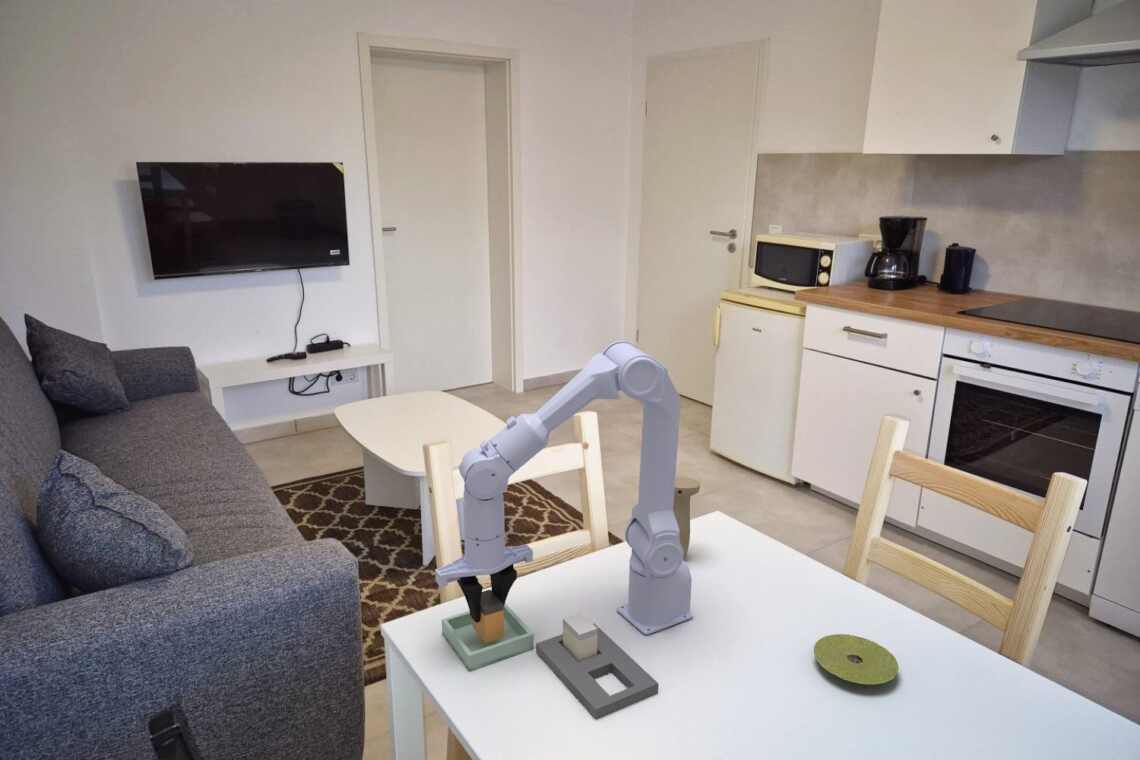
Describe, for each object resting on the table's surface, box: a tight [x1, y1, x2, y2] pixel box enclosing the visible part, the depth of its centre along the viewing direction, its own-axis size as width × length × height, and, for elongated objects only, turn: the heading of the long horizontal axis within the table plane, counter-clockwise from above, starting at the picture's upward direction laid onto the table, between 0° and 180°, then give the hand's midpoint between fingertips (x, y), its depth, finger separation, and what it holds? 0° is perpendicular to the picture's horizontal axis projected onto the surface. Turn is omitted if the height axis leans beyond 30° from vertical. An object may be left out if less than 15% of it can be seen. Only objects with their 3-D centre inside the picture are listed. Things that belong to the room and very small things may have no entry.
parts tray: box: [441, 602, 535, 672], centre depth 111 cm, size 10×10×2 cm
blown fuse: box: [472, 589, 504, 643], centre depth 110 cm, size 3×4×6 cm, turn 31°
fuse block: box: [535, 622, 659, 720], centre depth 105 cm, size 10×16×2 cm, turn 31°
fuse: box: [562, 612, 598, 662], centre depth 107 cm, size 3×4×6 cm, turn 31°
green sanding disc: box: [813, 633, 900, 685], centre depth 106 cm, size 11×11×2 cm
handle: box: [673, 476, 701, 562], centre depth 133 cm, size 5×6×15 cm
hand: (486, 615), depth 110 cm, fingers closed on blown fuse, 3 cm apart
